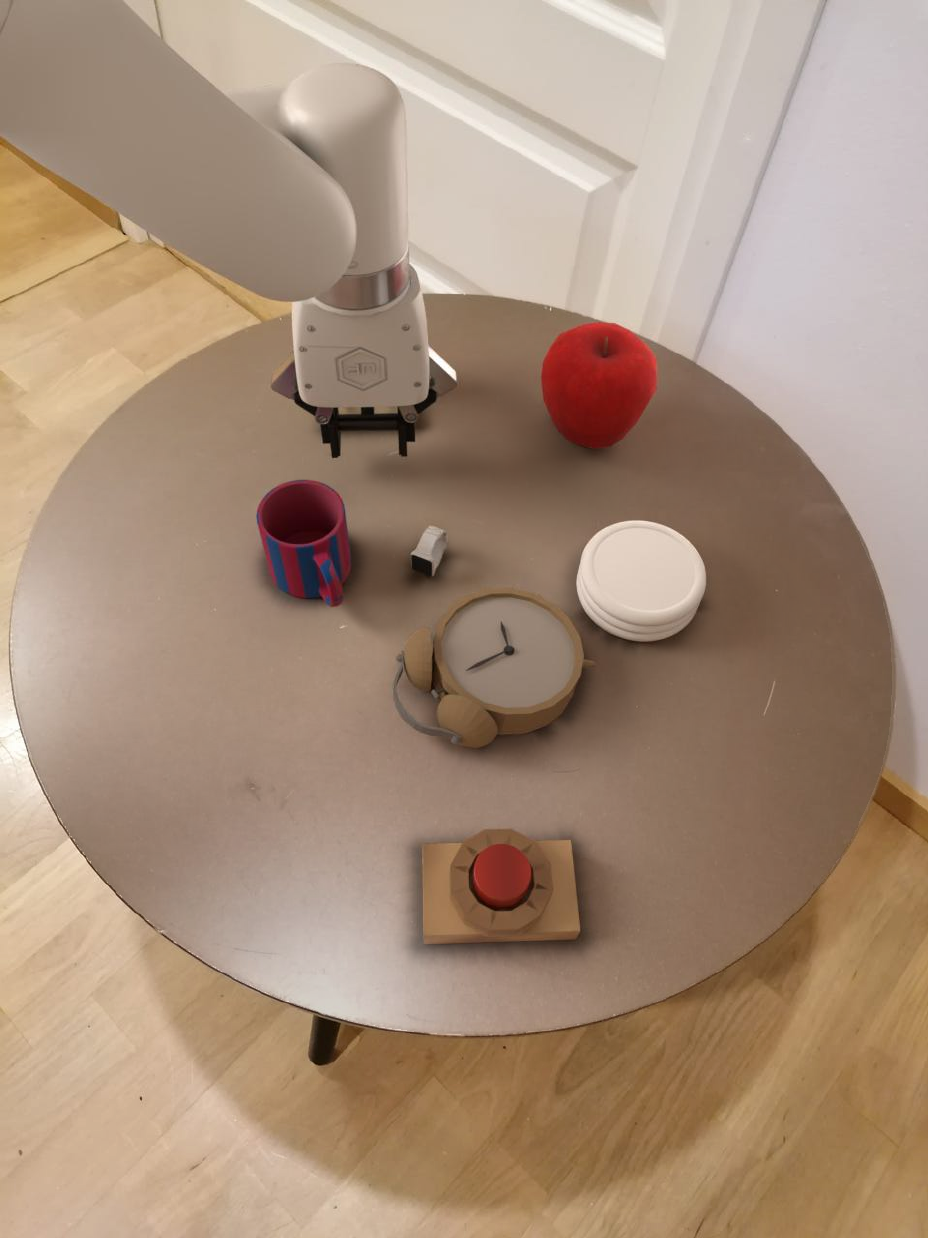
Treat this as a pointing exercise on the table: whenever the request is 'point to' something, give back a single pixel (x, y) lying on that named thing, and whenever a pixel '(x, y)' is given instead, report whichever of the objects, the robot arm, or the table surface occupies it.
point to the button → (501, 875)
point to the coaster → (640, 580)
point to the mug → (306, 539)
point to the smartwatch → (429, 551)
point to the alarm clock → (494, 666)
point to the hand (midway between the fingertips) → (369, 443)
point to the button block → (471, 920)
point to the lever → (368, 421)
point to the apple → (597, 383)
